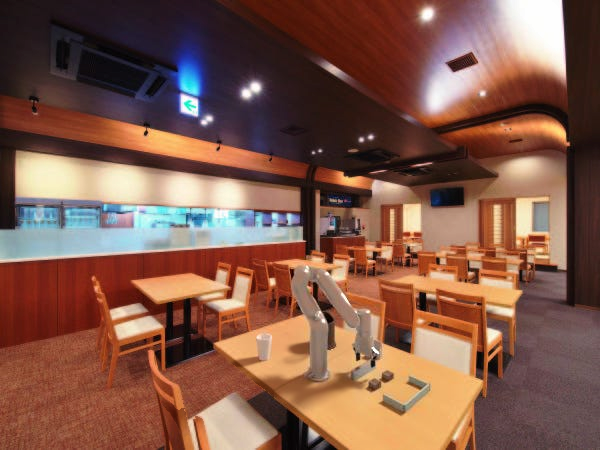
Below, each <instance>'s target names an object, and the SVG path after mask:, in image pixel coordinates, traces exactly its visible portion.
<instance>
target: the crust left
mask: <svg viewBox="0 0 600 450" xmlns="http://www.w3.org/2000/svg"><path fill="white" fill-rule="evenodd" d="M367 384H368V388H369V389H371V390H373V391H378V390H380V389H381V388H382V381H381V380H379V379H378V378H376V377H374V378H372V379H370V380H368V383H367Z"/></svg>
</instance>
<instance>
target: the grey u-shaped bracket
mask: <svg viewBox="0 0 600 450" xmlns="http://www.w3.org/2000/svg"><path fill="white" fill-rule="evenodd" d="M408 382H409V383H410V384H411V383H412V384H413V385H415V386H418V387H420V388H421V389H420V390H419V391H418V392H416V393H415V394H414V395H413V396H412V397H410V399H408V400H407V401H406V402H404V403H403V402H400V401H399V400H397V399H395V398H394V397H392V396H390V395H387V394H385V393H382V402H384V403H385V404H388V405H389V406H392V407H394V408H395V409H397V410H399V411H400V412H402V413H404V414H406V413H407V412H408V411H409V410H410V409H411V408H412V407H413V406H415V405H416V404H417V403H418V402H419V401H420V400H421V399H422V398H424V397H425V396H426V395H427V394H428V393H429V392H430V391H431V383H429V382H426V381H425V380H422V379H420V378H418V377H415V376H413V375H410V374H409V375H408Z"/></svg>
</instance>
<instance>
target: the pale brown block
mask: <svg viewBox="0 0 600 450" xmlns="http://www.w3.org/2000/svg"><path fill="white" fill-rule="evenodd" d="M373 341H374V349H375V350H376V351H377V352H378V353H379V356H378V358H377V359H378V360H381V359H382V358H383V346H382V345H383V344H382V341H380V340H377V339H373ZM374 355H375V353H374ZM372 357H373V356H372ZM377 359H376V360H377Z"/></svg>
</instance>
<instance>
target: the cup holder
mask: <svg viewBox="0 0 600 450" xmlns="http://www.w3.org/2000/svg"><path fill="white" fill-rule="evenodd" d="M321 311H322V313H323V315H324V317H325V319H326V321H327V324H328V339H327V350H329V351H332V350H331V349H333V350H335V349H336V348H337V346H336V345H337V343H336V340H335V339H336V333H335V332H336V328H335V327H336V326H335V325H336V321H335V320H336V319H335V317H334V316H333V315H332V313H330V312H328V311H325V310H321ZM335 347H336V348H335ZM334 348H335V349H334Z"/></svg>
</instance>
